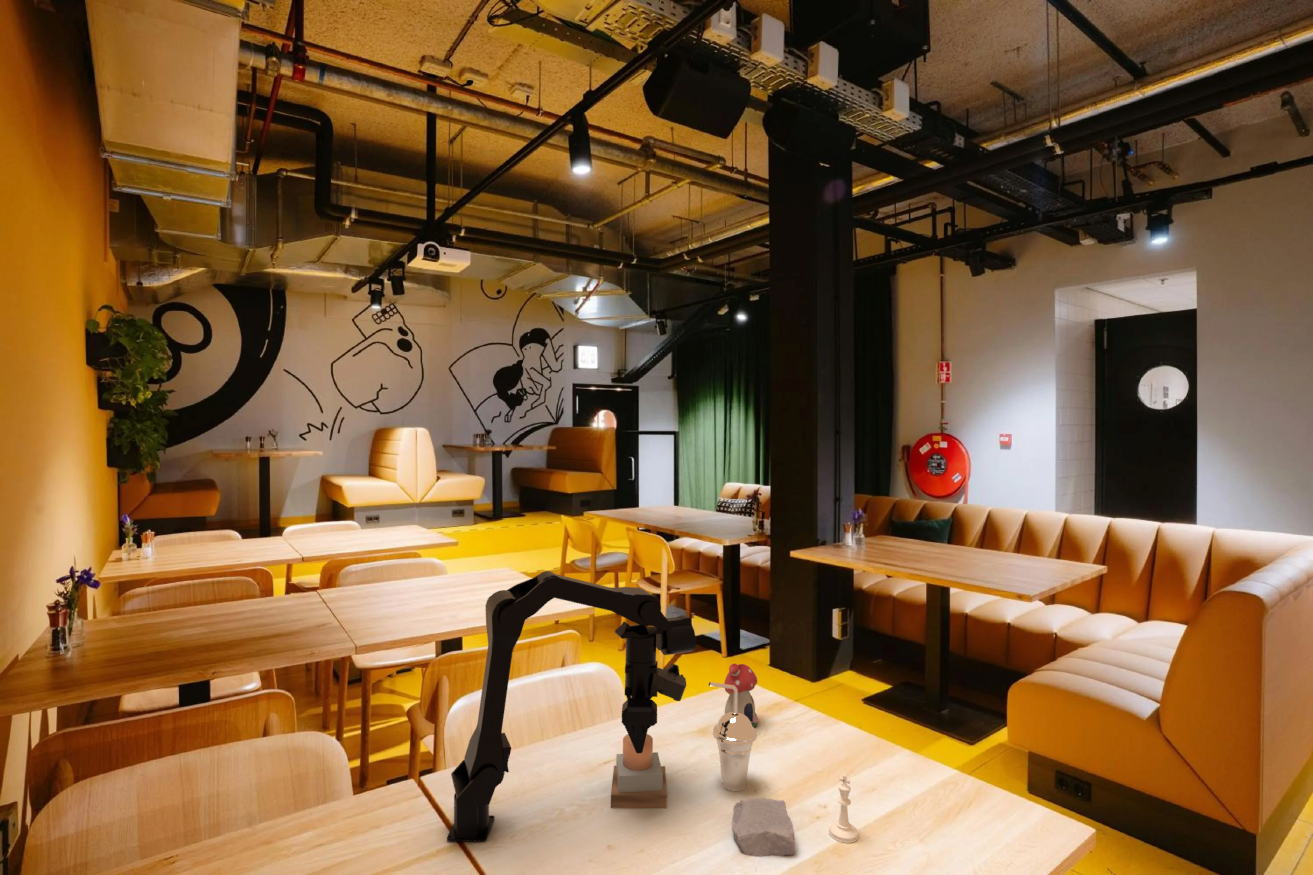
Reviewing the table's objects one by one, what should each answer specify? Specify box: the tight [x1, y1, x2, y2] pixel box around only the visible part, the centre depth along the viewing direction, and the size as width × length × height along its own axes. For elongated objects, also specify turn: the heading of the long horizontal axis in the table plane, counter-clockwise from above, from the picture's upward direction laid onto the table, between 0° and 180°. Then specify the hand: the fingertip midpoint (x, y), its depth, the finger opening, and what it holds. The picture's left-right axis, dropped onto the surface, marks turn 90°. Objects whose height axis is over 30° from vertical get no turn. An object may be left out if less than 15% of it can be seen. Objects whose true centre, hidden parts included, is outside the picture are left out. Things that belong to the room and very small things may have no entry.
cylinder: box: [622, 733, 654, 771], centre depth 123 cm, size 6×6×4 cm
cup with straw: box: [708, 681, 758, 792], centre depth 126 cm, size 8×9×20 cm
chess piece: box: [828, 774, 860, 844], centre depth 111 cm, size 5×5×10 cm
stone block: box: [731, 797, 796, 858], centre depth 111 cm, size 12×5×10 cm
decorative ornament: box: [723, 663, 759, 729], centre depth 151 cm, size 9×7×15 cm
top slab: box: [615, 751, 663, 793], centre depth 123 cm, size 8×8×3 cm
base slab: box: [610, 765, 668, 809], centre depth 123 cm, size 10×10×3 cm
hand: (639, 740), depth 123 cm, fingers open, 9 cm apart
